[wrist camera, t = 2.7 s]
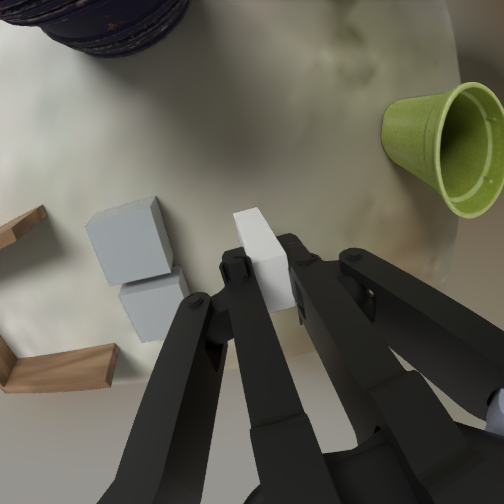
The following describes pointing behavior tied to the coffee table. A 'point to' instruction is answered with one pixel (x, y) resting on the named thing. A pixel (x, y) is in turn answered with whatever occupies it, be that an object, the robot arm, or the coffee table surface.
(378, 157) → the coffee table surface
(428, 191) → the coffee table surface
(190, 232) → the coffee table surface
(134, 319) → the tile
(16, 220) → the frame
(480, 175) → the plant pot
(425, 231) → the coffee table surface
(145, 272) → the tile
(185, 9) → the storage jar
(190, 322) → the robot arm
